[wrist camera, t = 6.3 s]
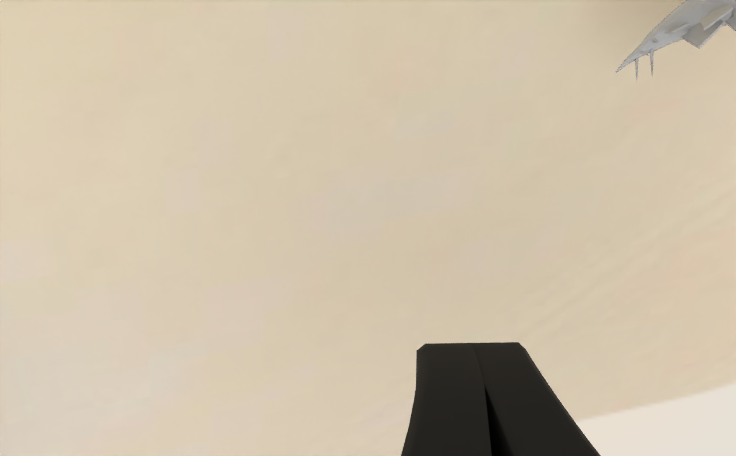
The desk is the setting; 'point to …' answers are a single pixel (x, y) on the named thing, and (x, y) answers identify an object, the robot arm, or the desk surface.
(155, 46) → the desk surface
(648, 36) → the stegosaurus
